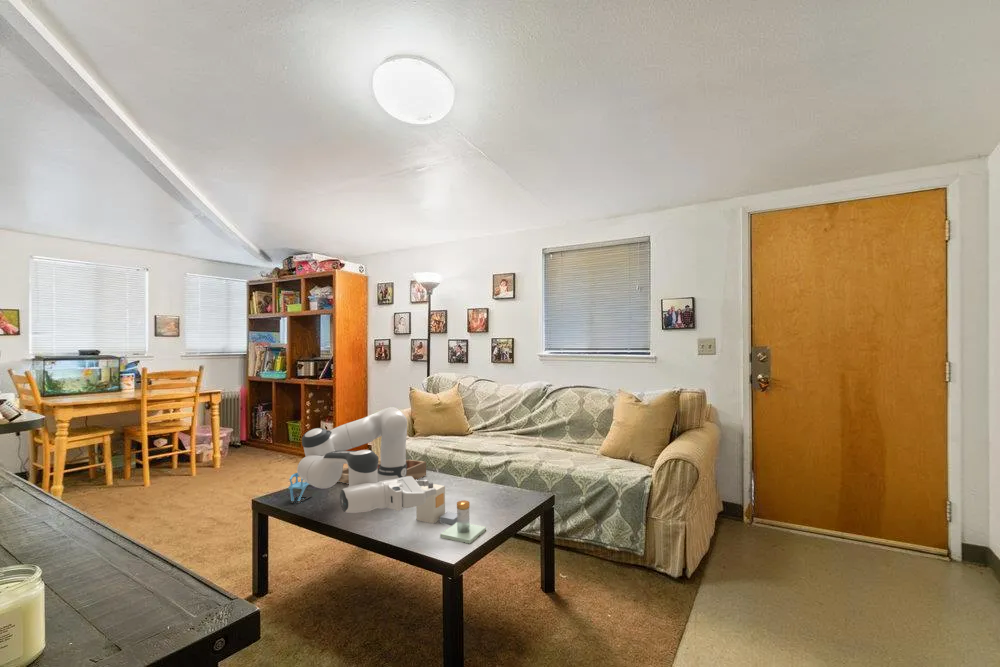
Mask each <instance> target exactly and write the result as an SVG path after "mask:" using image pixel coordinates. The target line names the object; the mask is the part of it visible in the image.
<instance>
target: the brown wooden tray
mask: <svg viewBox="0 0 1000 667" xmlns="http://www.w3.org/2000/svg"><path fill="white" fill-rule="evenodd" d="M380 464H381V463H380ZM380 464H379V463H378V466H379V465H380ZM378 469H379V468H378ZM338 481H340V482H344V483H349V470H348V467H346V468H343V471H342V475H341V477H340V479H339V480H338Z"/></svg>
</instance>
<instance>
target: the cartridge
mask: <svg viewBox="0 0 1000 667" xmlns="http://www.w3.org/2000/svg"><path fill="white" fill-rule="evenodd" d="M470 508H471V506H470V500H464V499H463V500H462V499H461V500H458V501H457V502H456V513H457V531H458V532H459V533H467V532H469V531H470V524H471V522H470Z"/></svg>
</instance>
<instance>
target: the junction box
mask: <svg viewBox="0 0 1000 667" xmlns="http://www.w3.org/2000/svg"><path fill="white" fill-rule="evenodd" d="M420 487H421V488H422V489H423V490H430V488H435V489H436V494H435V495H431V496H429V497H427V498H426V502H425V503H424V504H422V505H419V506H415V507H416V508H415V510H416V515H415V516H416V517H415V518H416V521H418V522H424V523H429V524H435V523H437V522H439V521H440V517H441V516H442V515H444V514H445V513H446V485H443V484H436V483H434V482H429V485H428V486H420Z"/></svg>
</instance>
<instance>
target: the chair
mask: <svg viewBox="0 0 1000 667" xmlns="http://www.w3.org/2000/svg"><path fill="white" fill-rule="evenodd" d="M298 477H299V478H300V481H299V479H298ZM294 478H295V482H293V481H292V480H293V479H294ZM289 482H290V485H289V486H288V488H287V489H288V490H289V494H290V501H294V489H298V490H301V491H300V493H299V495H300V496H299V497H297V500H296V502H297V501H300V500H301V499H302V498H301V497H302V495H304V492H305V490H306V488H307V487H308V486H309V485H310V484H308V483H307V482H305V481H304V480H303V479H302V478H301V477H300V476H299V475H298V472H296V473H293V474H291V476H290V478H289Z"/></svg>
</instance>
